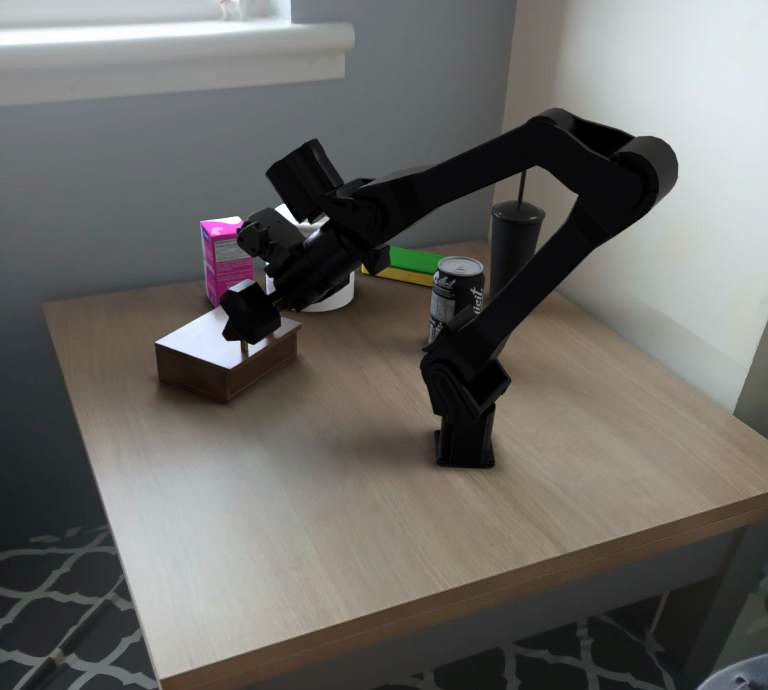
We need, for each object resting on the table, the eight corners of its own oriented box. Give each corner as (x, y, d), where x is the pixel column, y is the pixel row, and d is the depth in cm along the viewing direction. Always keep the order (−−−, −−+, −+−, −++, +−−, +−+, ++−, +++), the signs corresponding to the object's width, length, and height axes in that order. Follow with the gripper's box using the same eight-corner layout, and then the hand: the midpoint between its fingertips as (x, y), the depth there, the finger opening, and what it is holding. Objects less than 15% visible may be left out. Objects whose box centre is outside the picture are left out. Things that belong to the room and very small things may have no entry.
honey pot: (257, 279, 133) (252, 156, 122) (337, 271, 137) (340, 151, 126) (279, 316, 124) (277, 186, 113) (365, 306, 128) (371, 180, 116)
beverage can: (476, 341, 121) (486, 257, 113) (475, 364, 116) (486, 277, 108) (428, 337, 121) (435, 252, 114) (425, 359, 116) (433, 272, 108)
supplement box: (205, 298, 127) (198, 219, 120) (244, 292, 129) (240, 215, 122) (216, 315, 123) (211, 235, 116) (257, 309, 125) (254, 230, 118)
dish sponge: (445, 290, 133) (447, 275, 132) (360, 273, 137) (361, 258, 135) (458, 273, 139) (460, 258, 137) (376, 257, 142) (377, 242, 141)
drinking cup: (474, 308, 129) (491, 168, 117) (485, 288, 135) (502, 152, 122) (526, 317, 127) (549, 176, 115) (534, 296, 133) (557, 160, 121)
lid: (302, 328, 112) (301, 293, 109) (230, 374, 102) (228, 337, 99) (230, 304, 116) (228, 270, 113) (154, 347, 106) (150, 311, 103)
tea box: (297, 357, 115) (296, 326, 112) (227, 405, 105) (225, 373, 102) (232, 334, 119) (230, 305, 116) (158, 379, 108) (154, 347, 106)
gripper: (331, 170, 100) (255, 242, 111) (228, 217, 87) (154, 292, 98) (386, 254, 102) (307, 316, 113) (294, 311, 89) (215, 375, 100)
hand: (248, 322), depth 106 cm, fingers open, 9 cm apart
